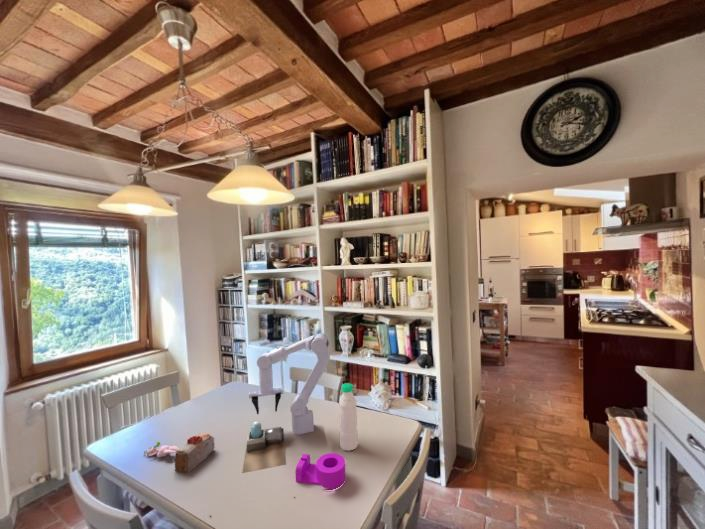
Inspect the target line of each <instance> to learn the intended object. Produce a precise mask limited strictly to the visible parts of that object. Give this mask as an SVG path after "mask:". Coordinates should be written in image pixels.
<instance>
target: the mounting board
mask: <svg viewBox="0 0 705 529" xmlns="http://www.w3.org/2000/svg"><path fill="white" fill-rule="evenodd" d="M286 461H287V459H286V441H285V437H284V440H282V442H280V443H274V444H268V445H266V449H263V450H258V451H252V452H247V445H246V447H245V454H244V460H243V467H242V474H244V473H248V472H255V471H259V470H260V471H261V470H264V469H265V470H266V469H269V468H274V467H280V466H284V465H287V462H286Z"/></svg>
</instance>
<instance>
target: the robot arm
mask: <svg viewBox="0 0 705 529" xmlns="http://www.w3.org/2000/svg"><path fill="white" fill-rule="evenodd" d="M305 349H306V350H308V351H312V352H313V353H314V354H315V355H316V357H317V361H316V363H315V365H314V367H313V368H312V370H311V372H310V374H309V375H308V378H307V379H306V382H305V383H304V385H303V387H302V388H301V390H300V391H299V392H298V393H297V394H296V395H295V397H294V399H293V401H292V404H291V406H290V409H289V410H290V413H291V431H292V434H294V435H297V436H298V435H299V436H300V435H301V436H302V435H305V434H307V433H312V432H315V425H314V424H315V422H314V411H313V410H312V409H309V408H308V406H307V405H308V403H309V399H310V397H311V395H312V393H313V391H314V389H315V388H316V386H317V384H318V382H319V380H320V379H321V377H322V375H323V374H324V371H325V369H326V368H327V366H328V364H329V362H330V359H331V352H330V341H329V338H328V337H327V335H326V334H325V333H322V332H320V333H317V334H316V335H315V334H314V335H311V336H308V337H305V338H304V339H301V340H299V341H297V342H295V343H293V344H291V345H289V346H284V345H282V346H280V345H278V346H277V347H276V348H275V349H272V350H268V351H266V352H264V353H262V354H261V355H260V356H259V357H258V358H257V360H256V365H257V367H258V381H259V382H258V383H259V388H258V390H254V391H251V392H250V391H249V392H248V399H250V400H251V403H252V404H253V406H254V408H255V411H256V415H259V413H260V408H259V398H260V397H266V396H274V395H275V396H274V401H275V402H274V403H275V405H274V412H275V413H276V412H277V411H278V408H279V407H278V406H279V404H280V400H281V398H282V395H283V394H284V387H281V388H280V387H274V382H273V381H274V380H273V379H274V378H273V376H274V375H273V365H275V364H277V363H279V362H282V361H284V360H286V359H288V358H289V355H291V354H293V353H296V352H299V351H301V350H305Z"/></svg>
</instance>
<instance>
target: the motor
mask: <svg viewBox="0 0 705 529" xmlns="http://www.w3.org/2000/svg"><path fill="white" fill-rule="evenodd" d="M261 432H262V438H256V439H251V430H250V431H248V432H247V437H246V438H247V439H246V446H247V452H252V451H258V450H263V449H266V445H268V444H274V443H280V442H282V440H284V438H285V434H284V433H285V432H284V427H282V426H277V427H272V428H263V429H262V428H261Z"/></svg>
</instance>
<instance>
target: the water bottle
mask: <svg viewBox="0 0 705 529" xmlns="http://www.w3.org/2000/svg"><path fill="white" fill-rule="evenodd" d="M341 392H342V394H341V397H340V398H339V402H338V405H339V413H338V414H339V416H338V417H339V437H340V438H339V440H340V441H339V444H340V445H339V446H340V448H341V449H342V450H343V449H344V450H343V451H345V450H352V449H354V448H356V447H358V446H357V445H359V441H358V427H357V426H358V412H357V399H356V398H355V396H354V394H353V392H354V385H353V384H352V383H349V382H346V383H345V382H344V383H342V385H341ZM356 449H357V448H356Z"/></svg>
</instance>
